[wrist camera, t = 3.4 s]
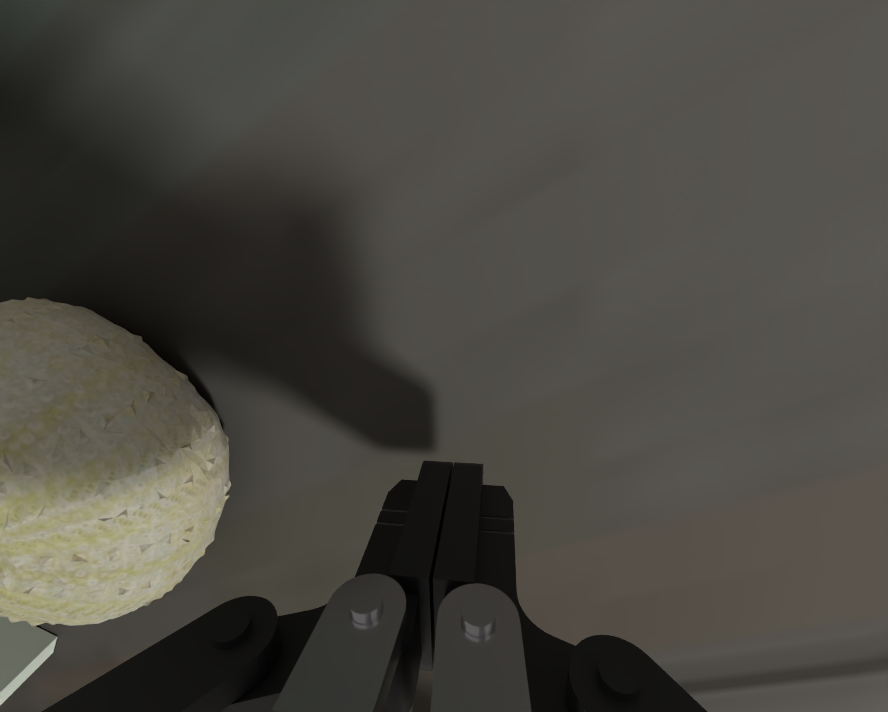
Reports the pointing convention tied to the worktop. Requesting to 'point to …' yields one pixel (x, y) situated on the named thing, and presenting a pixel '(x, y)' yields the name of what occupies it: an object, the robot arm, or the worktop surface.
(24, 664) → the flared u-shaped rail
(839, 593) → the worktop surface
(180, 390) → the sea urchin shell
